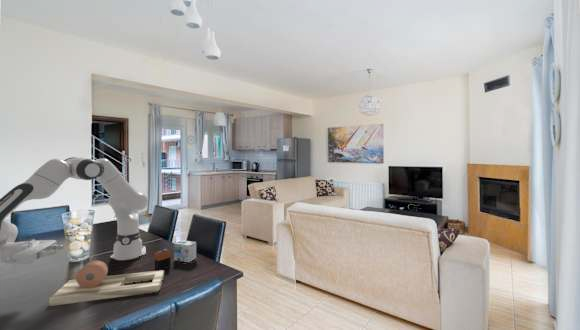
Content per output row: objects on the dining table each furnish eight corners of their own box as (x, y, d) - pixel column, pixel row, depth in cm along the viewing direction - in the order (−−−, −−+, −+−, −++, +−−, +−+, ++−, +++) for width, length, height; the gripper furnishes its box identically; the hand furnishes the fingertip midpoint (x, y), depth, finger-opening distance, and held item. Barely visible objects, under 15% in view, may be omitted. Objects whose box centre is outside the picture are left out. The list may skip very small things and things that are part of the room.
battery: (170, 267, 147) (170, 249, 146) (158, 271, 141) (158, 252, 141) (166, 265, 149) (166, 247, 149) (154, 269, 144) (154, 251, 143)
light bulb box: (173, 261, 155) (173, 243, 154) (181, 257, 161) (181, 239, 161) (188, 264, 151) (188, 245, 151) (196, 260, 158) (196, 241, 157)
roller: (82, 283, 121) (82, 261, 121) (108, 280, 124) (108, 259, 124) (76, 289, 115) (76, 266, 115) (103, 286, 118) (103, 264, 118)
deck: (69, 286, 124) (69, 280, 124) (164, 275, 136) (164, 269, 136) (49, 306, 108) (49, 298, 108) (159, 291, 120) (159, 285, 120)
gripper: (0, 254, 101) (45, 250, 105) (32, 238, 120) (70, 235, 125) (0, 270, 101) (45, 266, 105) (33, 252, 120) (70, 249, 125)
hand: (59, 249), depth 115 cm, fingers open, 5 cm apart
